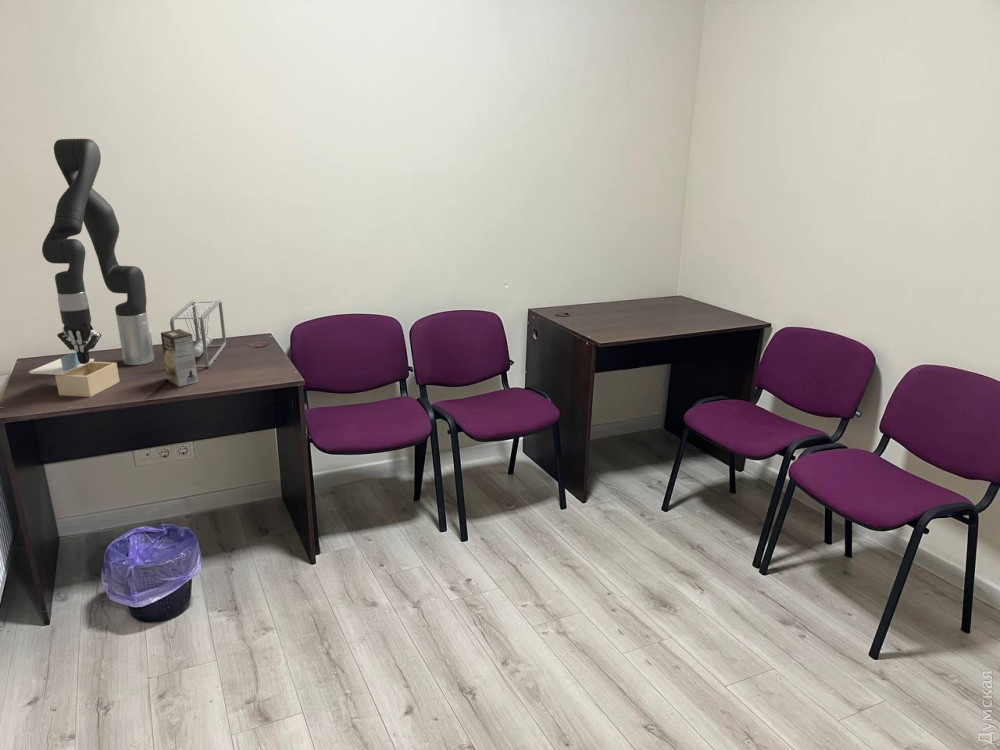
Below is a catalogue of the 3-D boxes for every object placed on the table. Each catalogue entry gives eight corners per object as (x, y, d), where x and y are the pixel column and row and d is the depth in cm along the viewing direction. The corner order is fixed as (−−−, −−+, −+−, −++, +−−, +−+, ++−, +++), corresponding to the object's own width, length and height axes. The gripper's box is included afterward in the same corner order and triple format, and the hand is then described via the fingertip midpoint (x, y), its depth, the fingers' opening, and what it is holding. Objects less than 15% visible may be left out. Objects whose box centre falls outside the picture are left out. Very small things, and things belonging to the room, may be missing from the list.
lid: (63, 359, 221) (60, 345, 219) (94, 360, 220) (91, 346, 218) (29, 373, 207) (26, 358, 206) (62, 374, 206) (59, 359, 205)
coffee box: (166, 380, 225) (159, 332, 220) (186, 376, 230) (179, 328, 225) (179, 387, 219) (172, 337, 214) (199, 382, 224) (193, 333, 219)
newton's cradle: (197, 346, 264) (191, 299, 258) (226, 345, 265) (221, 298, 260) (176, 370, 236) (169, 318, 230) (208, 369, 237) (202, 317, 232)
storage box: (90, 382, 222) (86, 361, 220) (120, 384, 221) (116, 362, 219) (59, 397, 209) (55, 375, 207) (91, 399, 208) (87, 376, 206)
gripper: (103, 305, 210) (112, 360, 215) (62, 303, 211) (72, 358, 217) (87, 310, 203) (97, 367, 208) (44, 309, 204) (55, 366, 210)
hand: (84, 363), depth 213 cm, fingers closed
